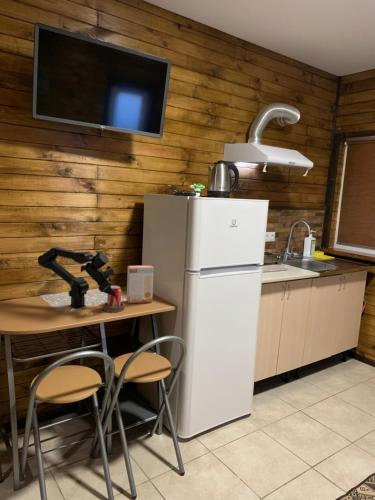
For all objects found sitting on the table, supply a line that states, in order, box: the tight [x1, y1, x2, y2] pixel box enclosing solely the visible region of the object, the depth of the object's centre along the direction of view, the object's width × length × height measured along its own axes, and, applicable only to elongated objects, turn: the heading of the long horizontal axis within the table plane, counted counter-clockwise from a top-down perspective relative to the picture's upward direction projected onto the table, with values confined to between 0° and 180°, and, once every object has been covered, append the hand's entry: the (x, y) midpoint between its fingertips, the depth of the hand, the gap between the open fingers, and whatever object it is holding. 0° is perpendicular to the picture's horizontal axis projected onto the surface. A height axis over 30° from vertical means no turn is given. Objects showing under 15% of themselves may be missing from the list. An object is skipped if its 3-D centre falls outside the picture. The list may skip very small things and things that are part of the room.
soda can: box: [106, 285, 122, 307], centre depth 204 cm, size 7×7×12 cm
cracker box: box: [126, 265, 155, 304], centre depth 220 cm, size 14×6×21 cm, turn 111°
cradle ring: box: [102, 301, 126, 313], centre depth 204 cm, size 11×11×2 cm
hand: (115, 293), depth 204 cm, fingers open, 9 cm apart
